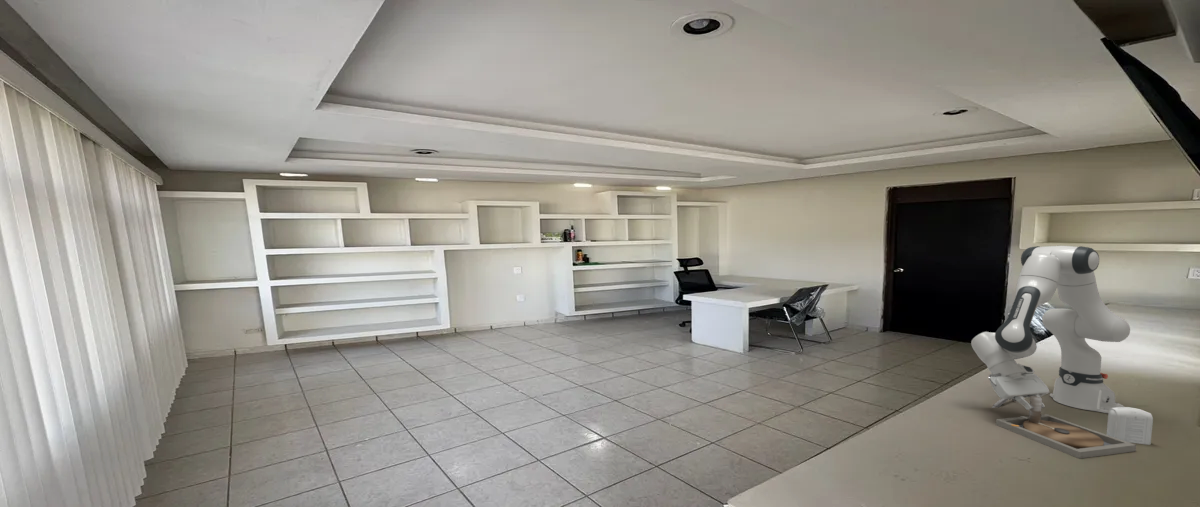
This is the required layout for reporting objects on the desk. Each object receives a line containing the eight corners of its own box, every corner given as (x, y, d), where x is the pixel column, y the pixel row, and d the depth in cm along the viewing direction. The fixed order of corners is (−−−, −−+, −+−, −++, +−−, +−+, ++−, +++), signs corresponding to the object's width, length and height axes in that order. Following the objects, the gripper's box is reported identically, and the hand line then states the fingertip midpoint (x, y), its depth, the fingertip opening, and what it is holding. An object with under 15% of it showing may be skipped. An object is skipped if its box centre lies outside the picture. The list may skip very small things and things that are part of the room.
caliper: (1014, 399, 188) (1015, 385, 187) (1017, 400, 187) (1018, 386, 186) (991, 408, 178) (992, 393, 178) (994, 409, 177) (995, 394, 177)
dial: (1119, 447, 144) (1121, 415, 143) (1075, 453, 140) (1077, 420, 139) (1049, 422, 162) (1051, 394, 162) (1008, 426, 158) (1010, 397, 158)
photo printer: (1142, 442, 150) (1145, 407, 149) (1153, 448, 146) (1156, 412, 145) (1103, 438, 153) (1105, 403, 152) (1113, 444, 149) (1115, 408, 148)
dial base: (1046, 422, 165) (1046, 413, 165) (1135, 454, 142) (1136, 444, 142) (995, 427, 160) (995, 418, 160) (1078, 462, 137) (1079, 451, 137)
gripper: (992, 370, 162) (1021, 407, 153) (1035, 367, 166) (1065, 402, 157) (979, 378, 167) (1006, 414, 158) (1021, 375, 171) (1050, 410, 162)
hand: (1036, 408), depth 158 cm, fingers open, 4 cm apart
